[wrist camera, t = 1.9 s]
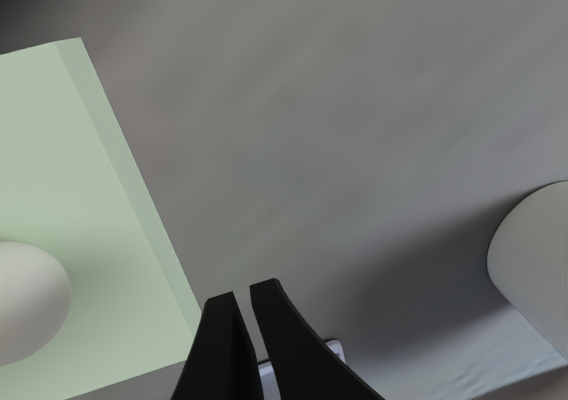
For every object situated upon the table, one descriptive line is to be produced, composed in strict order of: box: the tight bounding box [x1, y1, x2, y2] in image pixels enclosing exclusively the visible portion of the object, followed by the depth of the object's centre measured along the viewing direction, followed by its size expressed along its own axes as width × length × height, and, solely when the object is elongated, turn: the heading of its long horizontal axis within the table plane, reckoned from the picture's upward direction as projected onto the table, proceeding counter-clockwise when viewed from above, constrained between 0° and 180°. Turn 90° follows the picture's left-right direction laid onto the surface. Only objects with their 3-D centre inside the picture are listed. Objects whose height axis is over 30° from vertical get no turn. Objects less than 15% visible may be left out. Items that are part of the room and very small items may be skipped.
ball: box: [0, 241, 72, 366], centre depth 13 cm, size 4×4×4 cm
